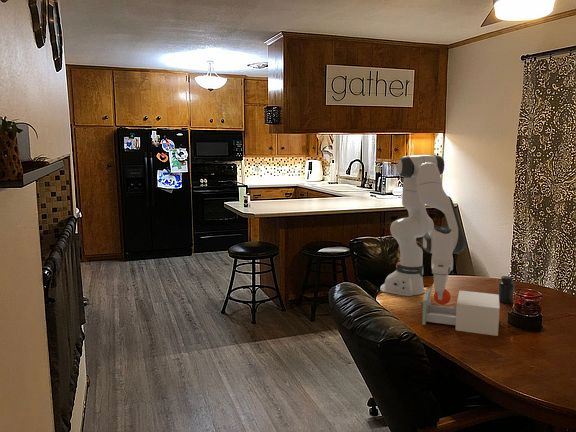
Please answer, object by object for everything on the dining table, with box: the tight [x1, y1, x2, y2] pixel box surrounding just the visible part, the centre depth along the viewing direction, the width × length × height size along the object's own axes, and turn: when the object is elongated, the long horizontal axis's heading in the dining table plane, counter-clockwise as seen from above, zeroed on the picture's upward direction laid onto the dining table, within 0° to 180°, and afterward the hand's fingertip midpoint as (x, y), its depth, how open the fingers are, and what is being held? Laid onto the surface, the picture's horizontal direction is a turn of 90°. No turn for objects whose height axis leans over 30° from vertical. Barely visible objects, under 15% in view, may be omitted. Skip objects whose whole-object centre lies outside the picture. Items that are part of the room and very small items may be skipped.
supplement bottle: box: [497, 275, 515, 304], centre depth 226 cm, size 7×7×12 cm
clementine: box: [432, 288, 452, 306], centre depth 203 cm, size 8×7×7 cm
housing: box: [455, 290, 500, 337], centre depth 198 cm, size 16×18×12 cm
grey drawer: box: [420, 287, 456, 326], centre depth 204 cm, size 16×18×11 cm
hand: (441, 296), depth 203 cm, fingers closed on clementine, 7 cm apart
